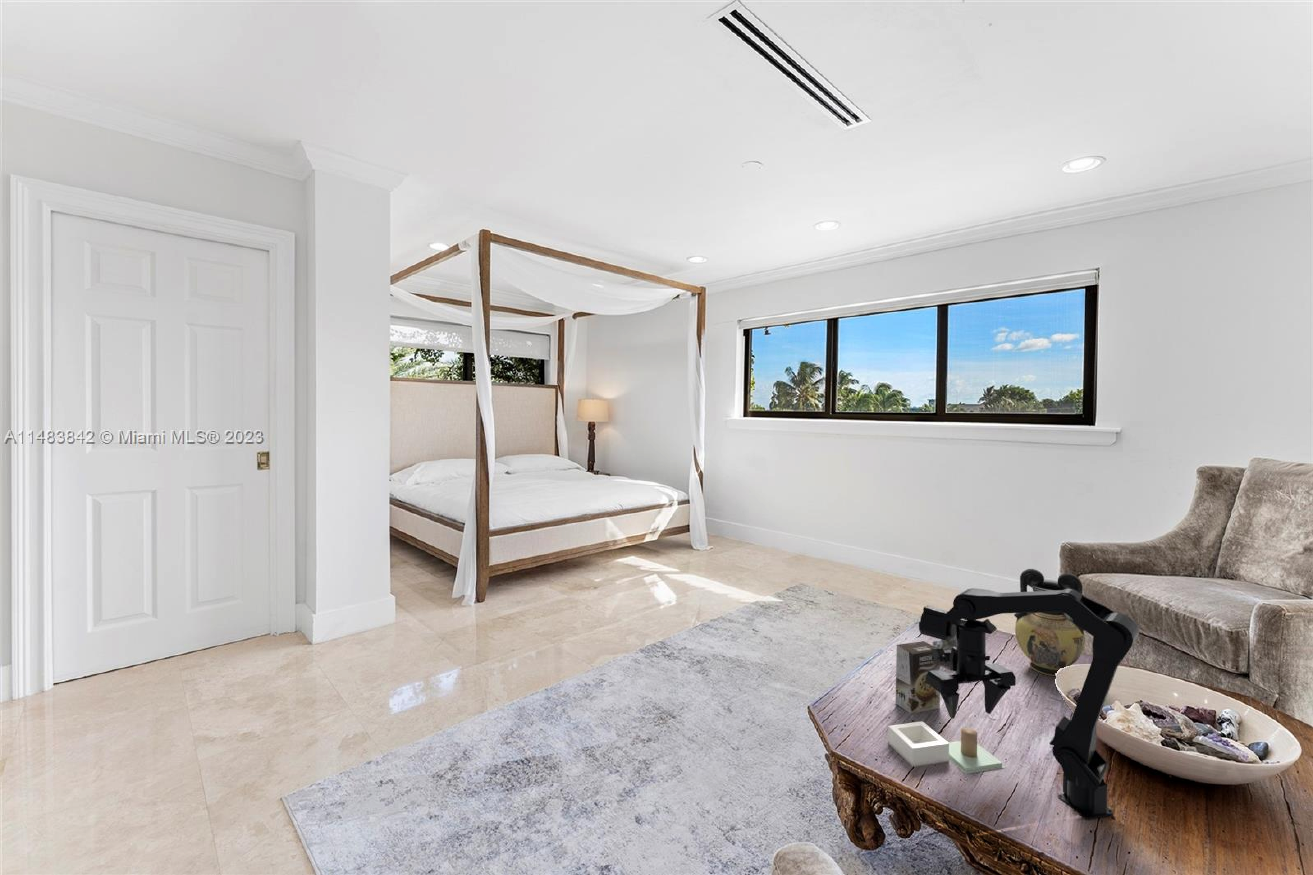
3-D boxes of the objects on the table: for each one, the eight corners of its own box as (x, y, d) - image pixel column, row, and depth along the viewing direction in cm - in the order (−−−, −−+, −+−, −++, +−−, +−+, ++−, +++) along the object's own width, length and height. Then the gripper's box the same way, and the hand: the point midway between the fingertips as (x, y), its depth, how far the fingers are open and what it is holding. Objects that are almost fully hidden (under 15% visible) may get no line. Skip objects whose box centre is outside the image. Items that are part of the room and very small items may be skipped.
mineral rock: (927, 656, 178) (927, 625, 178) (954, 652, 181) (954, 621, 181) (960, 675, 166) (960, 641, 165) (988, 669, 169) (989, 636, 169)
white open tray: (948, 763, 125) (949, 743, 125) (912, 768, 123) (912, 748, 123) (922, 739, 134) (922, 721, 134) (888, 744, 132) (888, 725, 132)
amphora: (1015, 675, 165) (1017, 574, 164) (1011, 653, 180) (1013, 560, 178) (1090, 689, 156) (1092, 582, 155) (1080, 664, 171) (1082, 567, 170)
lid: (1002, 766, 123) (1002, 740, 123) (965, 772, 121) (966, 745, 121) (971, 742, 132) (971, 718, 131) (937, 747, 130) (937, 723, 130)
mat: (1005, 769, 123) (1005, 767, 122) (965, 775, 121) (965, 773, 121) (971, 742, 132) (971, 741, 132) (934, 748, 130) (934, 746, 130)
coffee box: (911, 715, 144) (912, 654, 144) (894, 703, 151) (895, 643, 150) (941, 710, 147) (941, 649, 146) (923, 698, 153) (923, 639, 152)
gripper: (980, 629, 135) (979, 693, 136) (910, 636, 131) (909, 702, 132) (1018, 648, 124) (1017, 717, 125) (943, 656, 120) (942, 728, 121)
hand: (970, 715), depth 126 cm, fingers open, 9 cm apart
